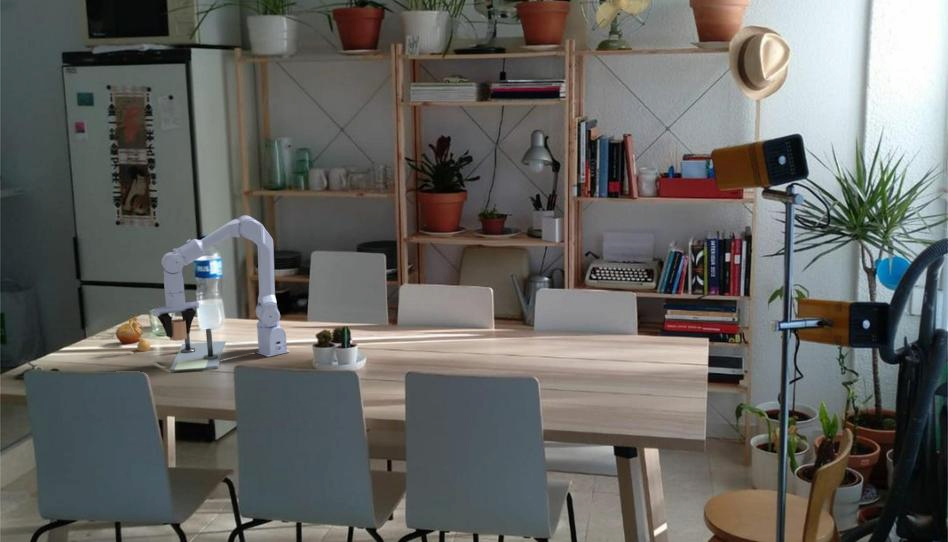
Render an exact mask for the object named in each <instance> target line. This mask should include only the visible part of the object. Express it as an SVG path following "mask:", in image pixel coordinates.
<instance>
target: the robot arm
mask: <svg viewBox="0 0 948 542" xmlns="http://www.w3.org/2000/svg"><path fill="white" fill-rule="evenodd" d="M240 235H241V236H242V237H243V238H245V239H247V240H250V241H252V243H254V244H256V245H257V264H258V266H257V267H258V268H257V269H258V272H257V273H258V297H257V305H256V308H255V316H256V318H258V321H257V323H256V329H257V347H258V348H257V349H258V350H256V351H255V353H257V354H259V355H263V356H265V357H267V358H268V357H273V356H278V355H281V354H286V353H290V350H289V349H288V344H287V334H286V331H285V330H284V328H282V327H281V322H280V319H281V314H280V311H279V309H278V304H277V298H276V289H275V285H276V284H275V257H274V256H275V255H274V254H275V253H274V248H275V247H274V240H273V238H272V236H271V235H270V233H269V232H268V231H267V230H266V228H265V227H264V224H262V223H261V222H260V221H258V220H256V218H253V217H252V216H250V215H247V214H246V215H241V216H239V217H238V218H234V219H232V220H230V221H229V222H227V223H225V224H223V225H222V226H221V227H219V228H217V229H216V230H214V231H213V232H211V233H209V234H208V235H206V236H205V237H203V238H202V239H196V238H193V239H192V240H191V239H190V238H189V239H188V240H186V243H185V244H183V245H181V246H180V247H178V248H176V247H175V248H173V249H172V252H170V251H169V252H166V253H165V254H164V255H163V256H162V259H161V262H160V263H161V266H162V267H163V276H164V277H163V285H164V287H163V288H164V298H165V305H164V306H161V307H158V308H154V309H152V310H151V311H152V316H153V317H157V319H158V320H159V322H160V324H161V325H162V327H163V329H164V331H165V334H166V335H165V336H166V338H169V339H170V337H172V328H171V323H172V320H173V317H172V316H171V315H170V314H173V313H174V314H175V313H178V312H179V313H180V314H181V317H182V318H181V319H185V320H186V332H187V334H189V335H190V334H191V327H192V322H193V320H194V317H195V315H196V314H197V313H196V312H197V311H196V309H197V310H198V309H200V303H199V301H189V302H186V293H185V283H184V275H183V268H184V266H188V265H189V264H191V263H193V262H195V261H196V260H198V259H200V258H202V257H204V255H205V253H206V250H207V249H209V248H210V247H212V246H214V245H217V244H219V243H221V242H222V241H225V240H226V239H229V238H241V236H240Z"/></svg>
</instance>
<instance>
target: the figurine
mask: <svg viewBox="0 0 948 542" xmlns="http://www.w3.org/2000/svg"><path fill="white" fill-rule="evenodd" d="M128 323H130V328H131V330H132V331H133V334H135V333H137V334H139V335H138V336H137V337H138V339H139V341H140V342H137V350H138V352H148V351H150V349H151V344H150V342H149V341H147V340H146V339H144V338H142V335H143V334H144V331H143V330H142V329H144V327H143V326H142V324H141V323H139V321H138V317H137V316H134V317H132V318H129V320H128ZM137 325H138V326H139V327H141V328H140V329H141V330H140V329H139V328H138V327H137ZM132 327H133V328H132ZM133 329H134V330H133ZM134 331H135V332H134ZM140 336H141V337H140Z"/></svg>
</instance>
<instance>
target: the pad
mask: <svg viewBox="0 0 948 542" xmlns="http://www.w3.org/2000/svg"><path fill="white" fill-rule="evenodd" d="M207 362H208V359H207V360H192V361H178V363H177V365H176V367H175V369H174V370H184V369H199V368H206V365H207Z"/></svg>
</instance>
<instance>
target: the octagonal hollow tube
mask: <svg viewBox="0 0 948 542" xmlns="http://www.w3.org/2000/svg"><path fill="white" fill-rule="evenodd" d="M171 328H172V337H170V338H169V340H170V341H183V340H185V339H187V332H186V320H185V319H183V318H174V319H172V323H171Z"/></svg>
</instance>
